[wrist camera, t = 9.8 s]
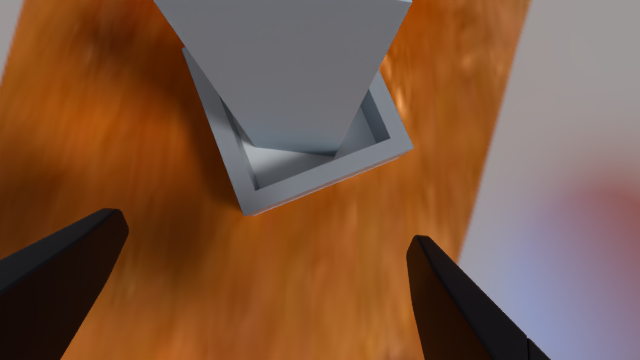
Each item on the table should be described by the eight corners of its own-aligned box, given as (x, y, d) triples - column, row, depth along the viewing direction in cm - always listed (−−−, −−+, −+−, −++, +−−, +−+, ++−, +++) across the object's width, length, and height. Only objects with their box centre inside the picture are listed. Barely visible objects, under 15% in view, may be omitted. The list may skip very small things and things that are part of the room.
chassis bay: (395, 159, 19) (413, 148, 16) (254, 215, 18) (243, 215, 15) (339, 29, 20) (345, -5, 17) (201, 76, 19) (181, 48, 16)
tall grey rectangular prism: (334, 156, 18) (432, -38, 4) (255, 147, 18) (90, -90, 4) (341, 83, 19) (447, -290, 5) (266, 73, 18) (156, -345, 5)
